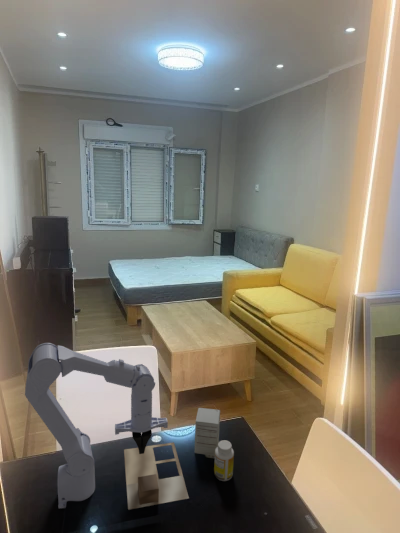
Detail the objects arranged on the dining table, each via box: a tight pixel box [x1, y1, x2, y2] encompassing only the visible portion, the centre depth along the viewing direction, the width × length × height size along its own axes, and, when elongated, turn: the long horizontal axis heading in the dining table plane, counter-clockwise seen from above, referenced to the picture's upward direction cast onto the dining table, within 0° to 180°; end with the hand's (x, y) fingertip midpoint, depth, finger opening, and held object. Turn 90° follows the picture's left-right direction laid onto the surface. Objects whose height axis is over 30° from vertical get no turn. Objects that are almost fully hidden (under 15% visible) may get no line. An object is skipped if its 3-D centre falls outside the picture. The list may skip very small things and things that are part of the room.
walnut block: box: [138, 474, 159, 505], centre depth 97 cm, size 5×5×4 cm
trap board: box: [123, 441, 190, 511], centre depth 105 cm, size 16×22×1 cm
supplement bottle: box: [213, 439, 235, 482], centre depth 105 cm, size 6×6×10 cm
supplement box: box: [194, 407, 221, 459], centre depth 115 cm, size 7×7×13 cm
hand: (141, 451), depth 103 cm, fingers closed
